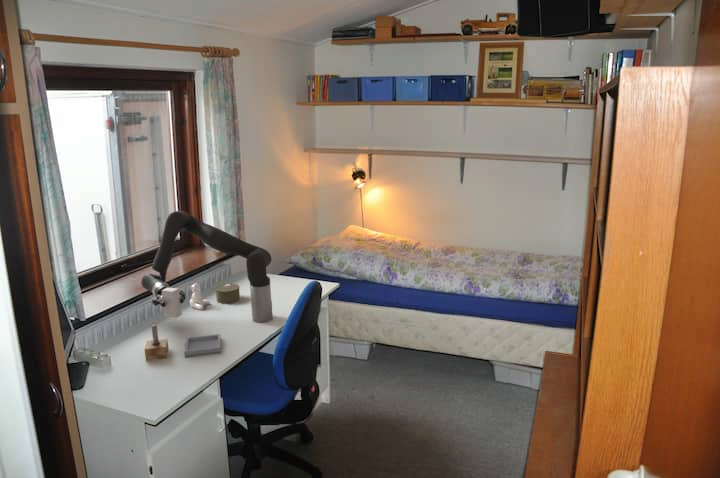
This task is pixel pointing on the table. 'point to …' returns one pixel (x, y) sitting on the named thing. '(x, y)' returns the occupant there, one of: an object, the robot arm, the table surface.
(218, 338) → the tray
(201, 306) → the white creature statuette
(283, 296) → the table surface
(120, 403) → the table surface
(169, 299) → the skincare box
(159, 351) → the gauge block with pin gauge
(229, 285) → the can
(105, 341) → the table surface
